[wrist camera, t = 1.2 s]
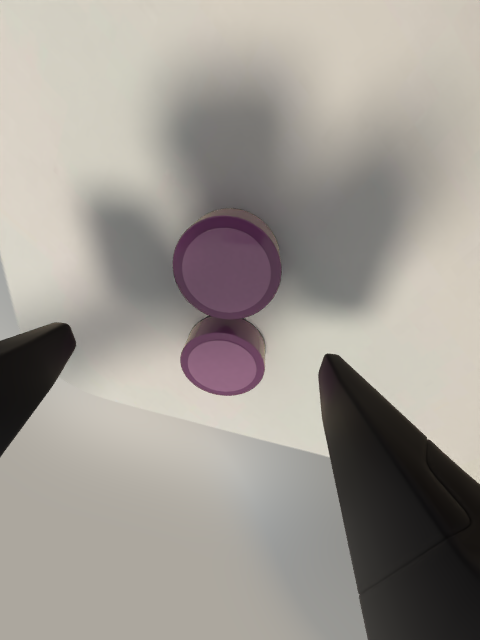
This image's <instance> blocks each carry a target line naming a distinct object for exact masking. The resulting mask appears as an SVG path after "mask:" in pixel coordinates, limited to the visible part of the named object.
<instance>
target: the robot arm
mask: <svg viewBox="0 0 480 640" xmlns="http://www.w3.org/2000/svg"><path fill="white" fill-rule="evenodd" d="M75 347H76V341H75V338H74V335H73V333H72V330H71V327H70V326H69V325H68V324H66V323H52V324H49V325H46V326H43V327H40V328H37V329H34V330H31V331H28V332H25V333H22V334H19V335H16V336H14V337H11V338H7V339H5V340H2V341H0V457H1V455H2V454H3V453H4V451H5V450H6V448H7V447H8V446H9V444H10V443H11V442H12V440H13V439H14V438H15V436H16V435H17V434H18V432H19V431H20V430H21V428H22V427H23V426H24V424H25V423H26V421H27V420H28V419H29V417H30V416H31V415H32V413H33V412H34V411H35V409H36V408H37V406H38V405H39V404H40V402H41V401H42V400H43V398H44V397H45V396H46V394H47V393H48V392H49V390H50V389H51V387H52V386H53V384H54V383H55V381H56V380H57V378H58V376H59V375H60V373H61V371H62V370H63V368H64V366H65V365H66V363H67V361H68V360H69V358H70V356H71V355H72V353H73V351H74V349H75ZM318 378H319V390H320V401H321V412H322V420H323V426H324V431H325V435H326V440H327V445H328V450H329V454H330V459H331V464H332V469H333V474H334V478H335V483H336V488H337V493H338V497H339V502H340V507H341V512H342V517H343V522H344V526H345V531H346V535H347V541H348V546H349V550H350V555H351V560H352V564H353V570H354V574H355V578H356V584H357V589H358V593H359V594H360V595H359V599H360V604H361V609H362V614H363V618H364V623H365V628H366V633H367V637H368V640H480V484H479V483H477V482H476V481H475V480H474V479H473V478H472V477H470V476H469V475H468V474H467V473H466V472H465V471H463V470H462V469H461V468H460V467H459V466H458V465H457V464H456V463H454V462H453V461H452V460H451V459H450V458H449V457H448V456H447V455H446V454H445V453H443V452H442V451H441V450H440V449H439V448H438V447H437V446H436V445H435V444H434V443H433V442H432V441H430V440H427V437H426V436H425V435H424V434H423V433H422V432H421V431H420V430H419V429H417V428H416V427H415V426H414V425H413V424H412V423H411V422H410V421H409V420H408V419H407V418H406V417H405V416H403V415H402V414H401V413H400V412H399V411H398V410H397V409H396V408H395V407H394V406H393V405H392V404H391V403H389V402H388V401H387V400H386V399H385V398H384V397H383V396H382V395H381V394H380V393H379V392H378V391H377V390H376V389H374V388H373V387H372V386H371V385H370V384H369V383H368V382H367V381H366V380H365V379H364V378H363V377H362V376H360V375H359V374H358V373H357V372H356V371H355V370H354V369H353V368H352V367H351V366H350V365H349V364H348V363H346V362H345V361H344V360H343V359H342V358H341V357H340V356H339V355H336V354H325V356H324V358H323V361H322V364H321V367H320V370H319V375H318Z"/></svg>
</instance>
